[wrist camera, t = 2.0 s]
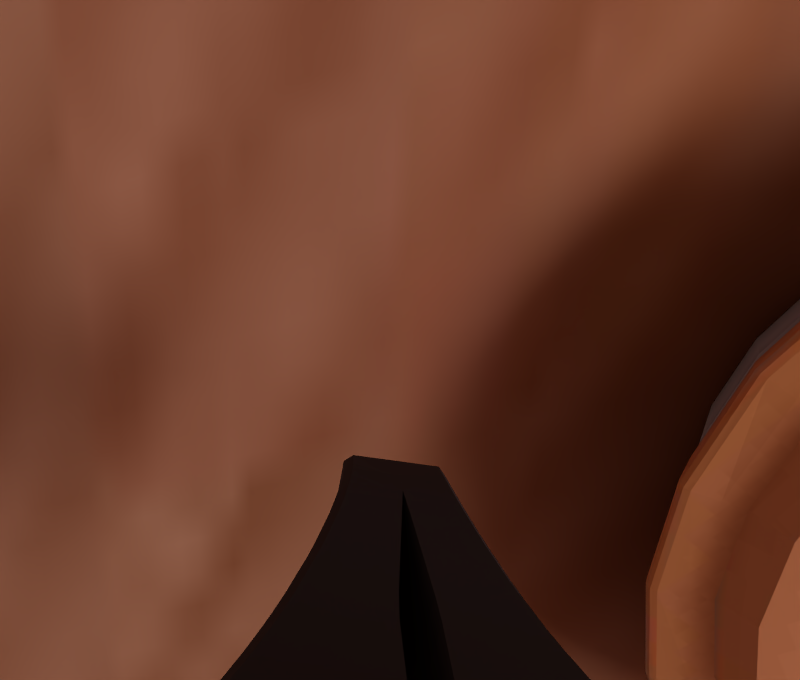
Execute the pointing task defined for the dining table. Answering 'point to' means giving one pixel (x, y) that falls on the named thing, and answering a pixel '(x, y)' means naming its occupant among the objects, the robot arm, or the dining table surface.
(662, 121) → the dining table surface
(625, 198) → the dining table surface
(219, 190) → the dining table surface
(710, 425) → the pie
